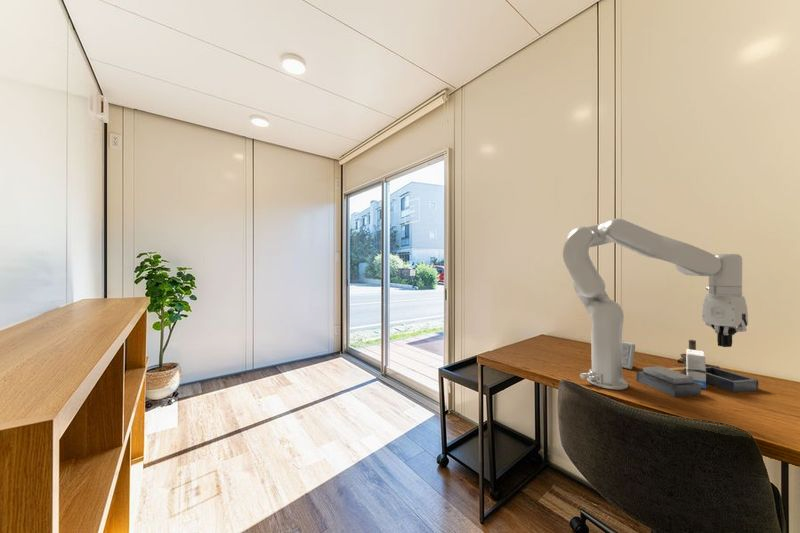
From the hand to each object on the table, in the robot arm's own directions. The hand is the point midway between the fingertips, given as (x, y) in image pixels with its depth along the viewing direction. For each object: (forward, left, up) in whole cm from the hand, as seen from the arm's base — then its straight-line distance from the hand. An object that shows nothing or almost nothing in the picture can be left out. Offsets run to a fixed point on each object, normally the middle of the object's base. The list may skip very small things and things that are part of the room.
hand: (724, 346), depth 99 cm
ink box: (+2, +10, -17) cm, 20 cm away
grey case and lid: (0, +9, -17) cm, 19 cm away
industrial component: (+18, +23, -17) cm, 34 cm away
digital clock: (-10, +35, -17) cm, 40 cm away
